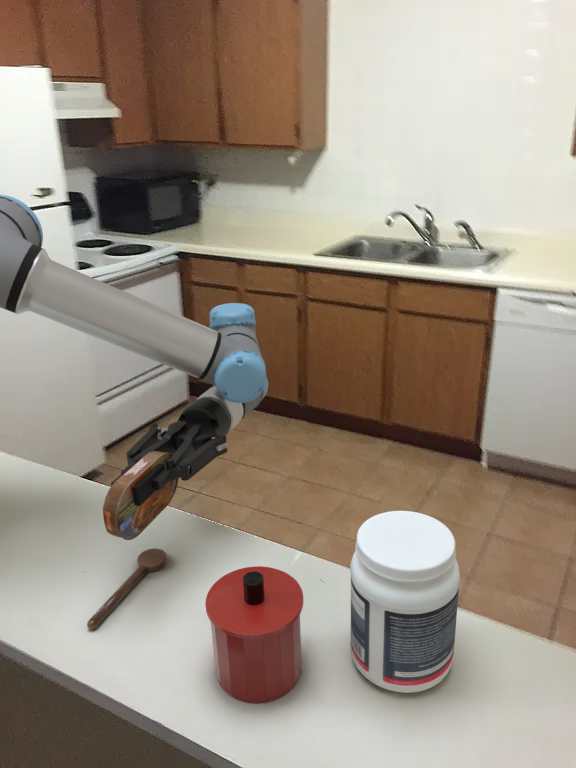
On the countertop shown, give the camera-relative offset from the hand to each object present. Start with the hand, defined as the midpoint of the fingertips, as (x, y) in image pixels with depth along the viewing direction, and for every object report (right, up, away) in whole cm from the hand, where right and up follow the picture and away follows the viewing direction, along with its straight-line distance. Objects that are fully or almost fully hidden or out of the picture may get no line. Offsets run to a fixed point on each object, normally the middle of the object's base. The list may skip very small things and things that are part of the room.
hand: (125, 494), depth 88 cm
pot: (+18, -21, -4) cm, 28 cm away
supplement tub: (+36, -20, -3) cm, 41 cm away
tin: (+1, -4, +6) cm, 7 cm away
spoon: (-2, -15, +10) cm, 19 cm away
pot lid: (+17, -11, -8) cm, 22 cm away
